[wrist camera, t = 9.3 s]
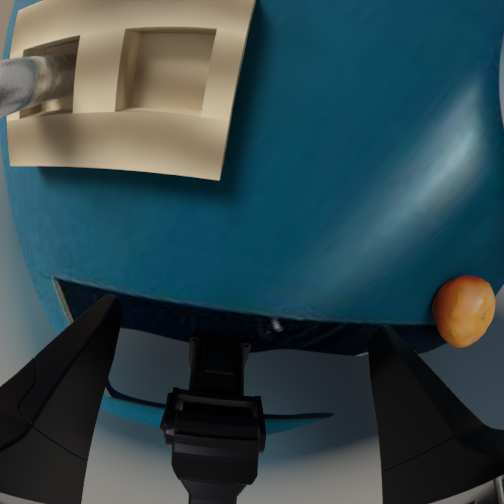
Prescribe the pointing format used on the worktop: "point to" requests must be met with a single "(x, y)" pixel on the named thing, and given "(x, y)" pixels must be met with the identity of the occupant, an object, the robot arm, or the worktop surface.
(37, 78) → the pin
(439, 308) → the fruit
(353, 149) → the worktop surface
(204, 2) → the socket block
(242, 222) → the worktop surface
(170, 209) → the worktop surface
